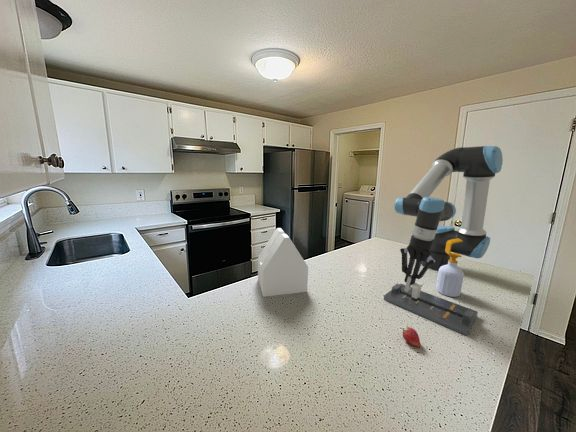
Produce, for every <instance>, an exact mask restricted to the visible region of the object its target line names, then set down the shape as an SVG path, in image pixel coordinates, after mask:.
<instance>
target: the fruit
mask: <svg viewBox="0 0 576 432" xmlns="http://www.w3.org/2000/svg"><path fill="white" fill-rule="evenodd" d="M402 337H403V339H404V341H405V343H408V344H409V345H411V346H413V347H416V348H420V347H421V346H422V343H421V341H420V336H419V334H418V332H417V331H416V329H414V328H413V327H409V326H408V324H407V325H406V327H405V328H404V329H402Z"/></svg>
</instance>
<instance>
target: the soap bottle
mask: <svg viewBox="0 0 576 432" xmlns="http://www.w3.org/2000/svg"><path fill="white" fill-rule="evenodd" d="M459 242H463V240H461V239H459V238H457V239H451V240H448V241H447V242H446V248H445V252H446V253H447V254H448V255H450V258H451V259H449V260H448V264H447V265H443V266H441V267H440V268H439V271H438V270H437V272H438V273H437V279H436V283H435V284H436V286H435V290H436V291H437V292H438V294H439V293H440V294H441V295H444V296H447V297H451V298H458V297H460V296H461V292H462V287H463V282H464V278H465V277H464V276H465V274H464V272H463V270H462V269H461V268H460V267H458V260H457V259H458V258H462V257H463V255H461V254H458V253H454V252H451V247H452V245H453V244H454V243H459Z"/></svg>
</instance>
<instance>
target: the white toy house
mask: <svg viewBox="0 0 576 432" xmlns="http://www.w3.org/2000/svg"><path fill="white" fill-rule="evenodd" d="M308 277H309V266H308V264H307V263H306V261H305V259H304V258H303V256H302V255H301V254H300V252H299V250H298V249H297V247H296V245H295V244H294V242H293V241H292V239H291V238H290V236H289V235H288V234H287V233H285V231H284V230H283V229H282V227H277V228H275V230H274V232H273V233H272V235H271V237H270V238H269V239H268V241H267V242H266V244H265V246H264V247H263V249H262V250H261V252H260V254H259V255H258V257H257V281H258V284H259V285H258V286H259V289H260V292H261V294H262V297H263V298H264V297H272V296H282V295H290V294H300V293H307V292H308V281H309V278H308Z"/></svg>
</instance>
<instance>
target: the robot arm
mask: <svg viewBox="0 0 576 432" xmlns="http://www.w3.org/2000/svg"><path fill="white" fill-rule="evenodd" d="M503 161H504V160H503V153H502V150H501V148H500V147H499V146H495V145H481V146H480V145H479V146H467V147H465V146H461V147H456V148H453V149H450V150H447V151H446V152H444V153H442V154H441V155H439V156H438V157H436V159H435V160H434V161H433V162H432V163H431V166H430V168H429V170H428V171H427V173H425V175H423V177H422V178H421V179H420V180H419V181H418V183H417V184H416V185H415V186H414V187H413V188H412V190H411V191H410V192H409V194H408V195H406V196H405V197H404V196H403V197H402V196H399V197H398V198H396V200H395V201H394V206H393V208H394V211H395V213H396V214H399V215H404V216H410V217H415V218H416V219H415V222H414V226H413V230H412V235H411V237H410V239H409V243H408V245H407V246H406V247H401V248H400V249H399V251H400V253H401V272H402V273H404V274H405V277H404V283H406V284H405V285H406V286H405V289H404V291H406V292H408V291H409V290H410V288H411V287H412V285H413V284H414V283H415V282H417V280H420V279H421V278H423V277H424V275H425V274H426V272H427V271H428V270H429V269H430V270H434V271H437V272H438V271H439V268H440V267H441V266H443V265H447V264H448V260H449V259H451V257H450V255H448V254H447V253H446V252H445V248H446V242H447V241H448V240H451V239H457V238H459V239H461V240H463V242H459V243H454V244H453V245H452V247H451V252H450V253H458V254H460V255H461V256H466V257H469V258H472V259H473V258H474V259H481V258H483V256H484V255H485V254H486V252H487V251H488V248H489V246H490V242H491V237H489V236H488V235H487V231H486V230H485V229H484V223H485V219H486V218H485V216H486V210H487V205H488V203H487V202H488V196H489V190H490V189H489V188H490V183H491V180H492V179H494V178H495V177H496V174H498V173H500V172H501V170H502V168H503ZM452 173H463V178H464V179H465V181H466V184H465V192H464V199H463V208H462V209H463V210H462V216H461V225H460V226H459V227H458V228H457V229H455V227H454V226H451V225H439V224H440V222H445V221H448V220H451V219H452V218H454V217H455V215H456V213H457V208H456V206H455V205H454V204H453V203H452V202H449V201H445V200H444V199H442V198H440V197H439V198H438V197H432V196H431V195H432V194H433V193H434V192H435V190H436V189H437V188H438V187H439V186H440V184H441V183H442V182H443V180H444V179H445V178H446V177H448V176H450V175H451V174H452ZM408 255H409V258H408ZM408 259H409V260H408ZM421 266H423V267H422V269H421V270H420V268H421Z"/></svg>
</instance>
